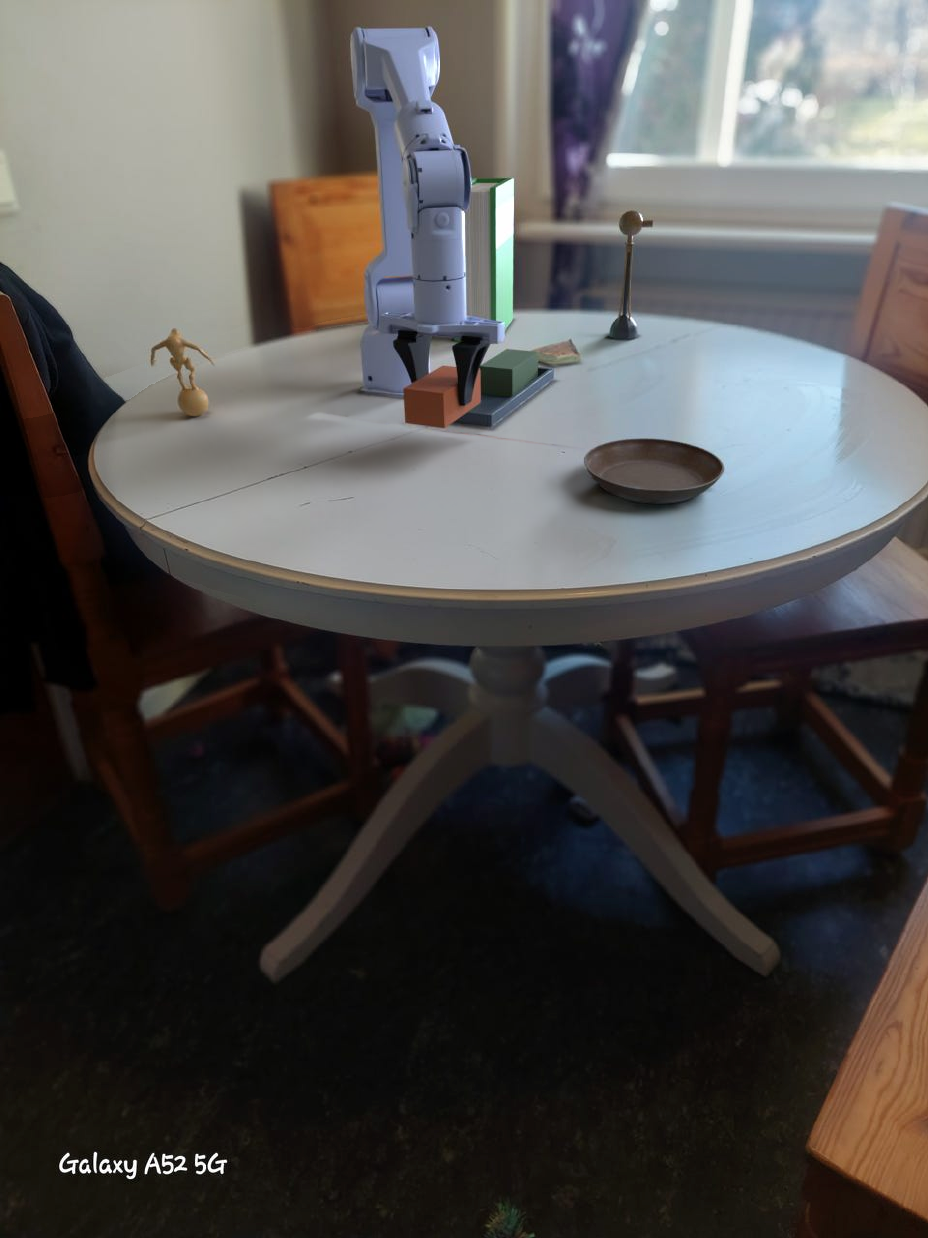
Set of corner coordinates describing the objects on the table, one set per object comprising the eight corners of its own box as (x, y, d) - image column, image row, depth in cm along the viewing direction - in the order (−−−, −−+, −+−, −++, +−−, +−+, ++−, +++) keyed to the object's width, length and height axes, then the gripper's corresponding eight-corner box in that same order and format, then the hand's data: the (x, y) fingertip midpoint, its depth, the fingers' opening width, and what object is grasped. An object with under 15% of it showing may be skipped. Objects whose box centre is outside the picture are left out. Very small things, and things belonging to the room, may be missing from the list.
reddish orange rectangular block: (404, 423, 99) (402, 388, 97) (443, 398, 106) (442, 365, 104) (444, 428, 97) (443, 393, 95) (481, 402, 104) (480, 369, 102)
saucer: (748, 501, 90) (752, 477, 89) (618, 521, 87) (620, 496, 86) (679, 454, 103) (681, 431, 101) (562, 469, 99) (563, 446, 98)
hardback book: (496, 342, 150) (495, 187, 138) (454, 341, 151) (450, 187, 139) (512, 319, 165) (513, 177, 152) (474, 318, 166) (472, 177, 154)
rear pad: (479, 394, 123) (479, 365, 121) (506, 375, 131) (506, 348, 129) (512, 397, 121) (512, 369, 119) (537, 378, 129) (538, 351, 127)
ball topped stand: (642, 332, 154) (652, 208, 143) (644, 339, 150) (654, 211, 139) (608, 332, 154) (616, 208, 144) (609, 339, 150) (617, 212, 140)
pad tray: (427, 421, 115) (427, 406, 114) (496, 375, 133) (496, 362, 132) (491, 429, 111) (491, 414, 110) (553, 381, 129) (554, 368, 128)
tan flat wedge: (570, 347, 146) (570, 336, 145) (606, 355, 141) (606, 344, 140) (525, 360, 140) (525, 349, 139) (561, 369, 135) (561, 357, 134)
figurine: (229, 410, 120) (215, 321, 114) (217, 424, 115) (201, 332, 109) (170, 410, 121) (153, 321, 115) (155, 425, 116) (136, 332, 110)
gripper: (362, 278, 93) (371, 403, 100) (485, 287, 88) (486, 418, 95) (393, 267, 99) (400, 386, 106) (512, 275, 93) (511, 399, 101)
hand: (443, 400), depth 101 cm, fingers closed on reddish orange rectangular block, 5 cm apart
